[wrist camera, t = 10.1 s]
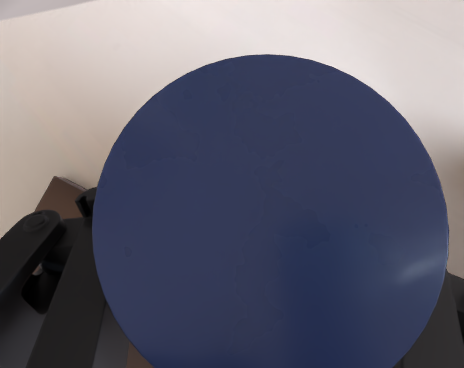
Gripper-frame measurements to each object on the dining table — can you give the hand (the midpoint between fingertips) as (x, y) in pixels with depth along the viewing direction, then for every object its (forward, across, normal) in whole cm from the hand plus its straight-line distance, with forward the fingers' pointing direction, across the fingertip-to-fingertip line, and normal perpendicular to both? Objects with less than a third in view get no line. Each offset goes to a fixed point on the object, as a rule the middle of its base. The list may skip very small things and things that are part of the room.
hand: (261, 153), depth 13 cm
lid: (-8, 0, +3) cm, 8 cm away
